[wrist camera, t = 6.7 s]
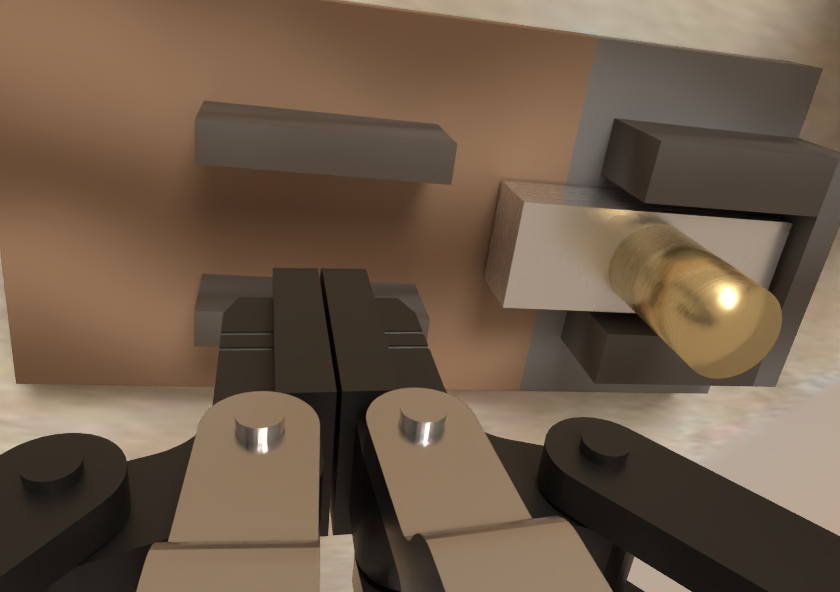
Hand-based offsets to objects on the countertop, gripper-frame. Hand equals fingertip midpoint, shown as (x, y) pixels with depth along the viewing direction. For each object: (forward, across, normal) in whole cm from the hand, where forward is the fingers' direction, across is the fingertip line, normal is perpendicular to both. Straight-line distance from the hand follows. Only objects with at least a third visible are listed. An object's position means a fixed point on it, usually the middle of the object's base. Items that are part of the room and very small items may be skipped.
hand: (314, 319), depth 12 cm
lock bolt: (+8, -10, +2) cm, 13 cm away
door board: (+10, -4, +1) cm, 10 cm away
